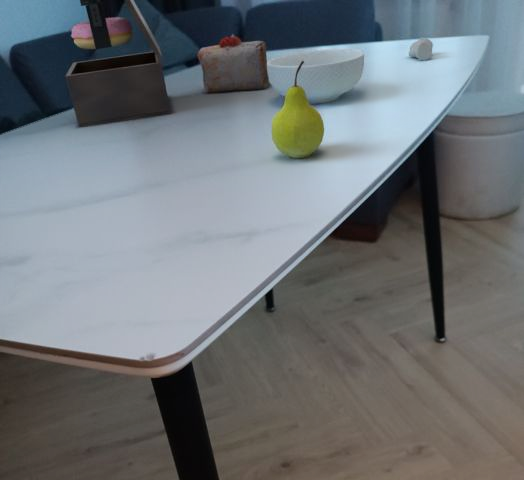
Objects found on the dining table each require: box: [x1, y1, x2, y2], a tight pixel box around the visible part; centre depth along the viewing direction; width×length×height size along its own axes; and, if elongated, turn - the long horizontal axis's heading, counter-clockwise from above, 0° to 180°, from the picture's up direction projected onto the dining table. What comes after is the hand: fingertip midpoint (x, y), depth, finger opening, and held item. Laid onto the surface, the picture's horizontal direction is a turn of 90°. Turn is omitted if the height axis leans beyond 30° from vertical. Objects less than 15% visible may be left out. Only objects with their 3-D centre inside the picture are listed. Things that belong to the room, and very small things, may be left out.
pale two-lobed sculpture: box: [408, 37, 434, 62], centre depth 127 cm, size 4×8×5 cm
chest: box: [65, 51, 172, 128], centre depth 112 cm, size 17×16×9 cm
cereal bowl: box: [267, 48, 365, 105], centre depth 105 cm, size 17×17×7 cm
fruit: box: [270, 61, 325, 159], centre depth 77 cm, size 7×7×12 cm
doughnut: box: [70, 16, 134, 50], centre depth 106 cm, size 11×11×4 cm
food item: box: [197, 33, 270, 94], centre depth 118 cm, size 14×8×10 cm, turn 81°
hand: (105, 43), depth 107 cm, fingers closed on doughnut, 11 cm apart
